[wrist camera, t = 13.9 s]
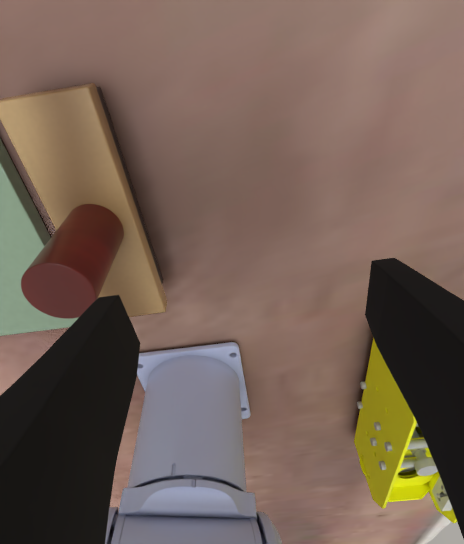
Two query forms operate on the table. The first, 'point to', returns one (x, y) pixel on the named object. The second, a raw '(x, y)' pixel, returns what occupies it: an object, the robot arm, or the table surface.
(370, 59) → the table surface
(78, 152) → the brush
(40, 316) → the tile
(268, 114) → the table surface
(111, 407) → the robot arm
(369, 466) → the yellow toy chassis
